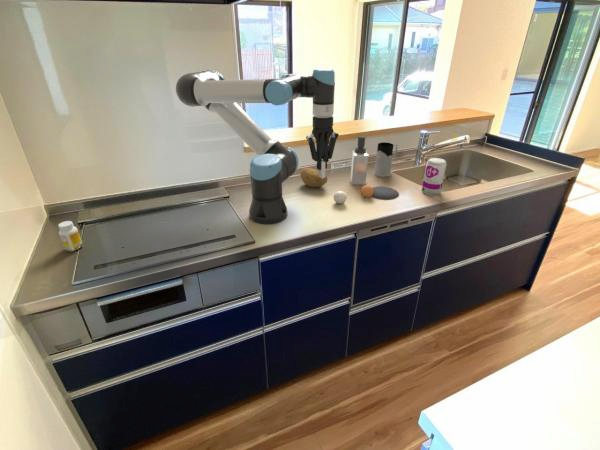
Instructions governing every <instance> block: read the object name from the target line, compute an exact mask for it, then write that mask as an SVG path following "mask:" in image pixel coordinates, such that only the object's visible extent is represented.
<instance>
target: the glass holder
mask: <svg viewBox="0 0 600 450" xmlns="http://www.w3.org/2000/svg"><path fill="white" fill-rule="evenodd" d="M394 146H395V151H394ZM393 152H394V154H393ZM397 152H398V145H397V143H394V144H393V143H391V142H378V143H377V150H376V156H375V163H374V165H375V166H374V171H373V175H375V176H377V177H385V178H386V177H390V176H391V175H392V173H391V171H392V170H391V169H392V163H393V160H394V159H395V157H396V155H397Z"/></svg>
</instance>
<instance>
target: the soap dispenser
mask: <svg viewBox="0 0 600 450" xmlns="http://www.w3.org/2000/svg"><path fill="white" fill-rule="evenodd" d="M365 141H366V136H365V135H357V147H355V149H354V150H352V151H351V152H352V155H351V165H350V166H351V168H350V183H351V185H360V186H361V185H363V186H365V185H366V182H367V171H368V170H367V169H368V164H369V163H368V160H369V154H368V151H367V148H365V144H366V142H365Z"/></svg>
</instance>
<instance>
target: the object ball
mask: <svg viewBox="0 0 600 450" xmlns="http://www.w3.org/2000/svg"><path fill="white" fill-rule="evenodd" d="M372 187H373V186H372V185H370V184H365V185H363V186H362V187H361V189H360V194H361V196H363V197H364V198H372V197H371V196H372V195H373V192H374V190H373V188H372Z"/></svg>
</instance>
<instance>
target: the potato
mask: <svg viewBox="0 0 600 450" xmlns="http://www.w3.org/2000/svg"><path fill="white" fill-rule="evenodd" d="M300 178H301V180H302V182H303V184H305V185H306V186H308V187H310V188H320V187H323V186H325V185H326V184H327V182H328V176H327V175H326V174H325V178H320V177H319V176H318V169H314V168H311V167H305V168H303V169H302V170H301V171H300Z"/></svg>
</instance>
